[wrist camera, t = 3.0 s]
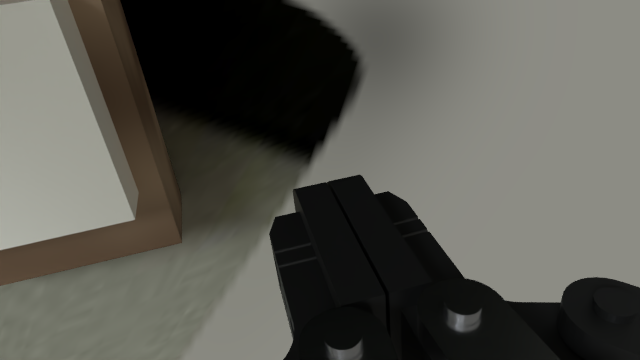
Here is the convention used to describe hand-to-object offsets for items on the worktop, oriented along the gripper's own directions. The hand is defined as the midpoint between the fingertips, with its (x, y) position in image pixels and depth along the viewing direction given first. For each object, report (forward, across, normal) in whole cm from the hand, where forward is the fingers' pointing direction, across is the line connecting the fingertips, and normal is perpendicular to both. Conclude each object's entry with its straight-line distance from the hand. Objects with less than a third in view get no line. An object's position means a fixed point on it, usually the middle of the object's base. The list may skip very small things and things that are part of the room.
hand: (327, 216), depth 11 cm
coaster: (+9, +10, 0) cm, 14 cm away
